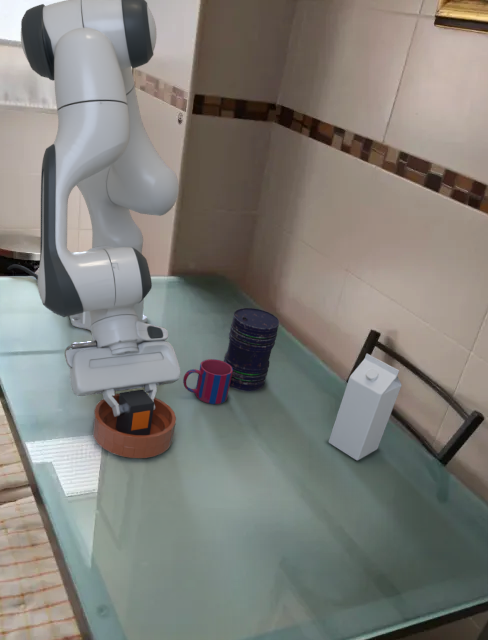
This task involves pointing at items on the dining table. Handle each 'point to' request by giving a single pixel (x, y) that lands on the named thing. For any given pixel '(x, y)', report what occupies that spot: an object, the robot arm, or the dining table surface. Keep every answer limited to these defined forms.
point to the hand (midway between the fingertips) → (135, 413)
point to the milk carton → (365, 408)
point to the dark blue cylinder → (250, 347)
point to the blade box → (135, 413)
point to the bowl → (134, 444)
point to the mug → (211, 381)
